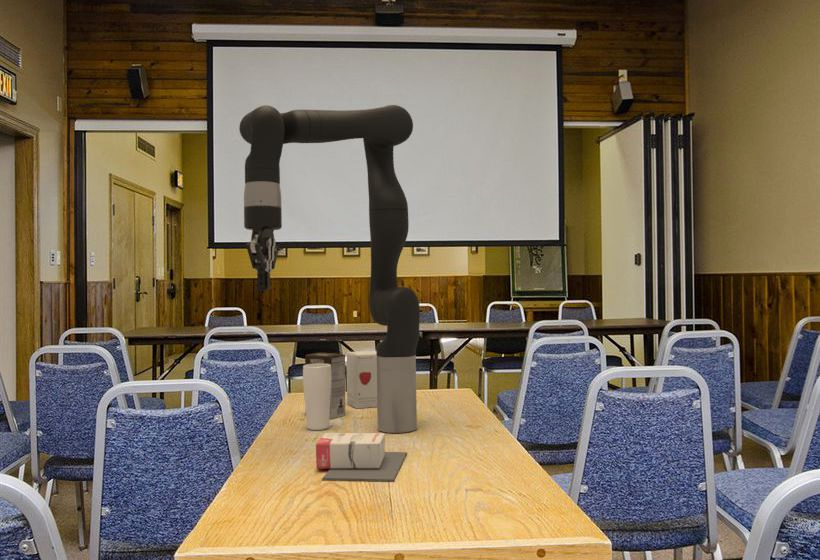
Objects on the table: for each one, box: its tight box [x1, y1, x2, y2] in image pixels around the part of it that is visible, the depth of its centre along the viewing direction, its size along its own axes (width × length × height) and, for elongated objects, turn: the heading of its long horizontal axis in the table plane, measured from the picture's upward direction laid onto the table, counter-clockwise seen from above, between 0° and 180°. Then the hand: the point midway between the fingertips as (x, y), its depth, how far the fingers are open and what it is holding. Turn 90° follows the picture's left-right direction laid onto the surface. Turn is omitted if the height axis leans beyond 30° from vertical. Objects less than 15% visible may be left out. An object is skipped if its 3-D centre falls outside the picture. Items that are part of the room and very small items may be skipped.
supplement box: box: [346, 350, 377, 409], centre depth 181 cm, size 9×9×15 cm
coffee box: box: [304, 352, 346, 420], centre depth 167 cm, size 9×6×16 cm
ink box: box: [315, 432, 386, 470], centre depth 120 cm, size 9×5×12 cm
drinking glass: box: [302, 364, 332, 431], centre depth 152 cm, size 7×7×15 cm
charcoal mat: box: [321, 451, 408, 483], centre depth 119 cm, size 18×12×1 cm
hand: (263, 290), depth 131 cm, fingers closed
